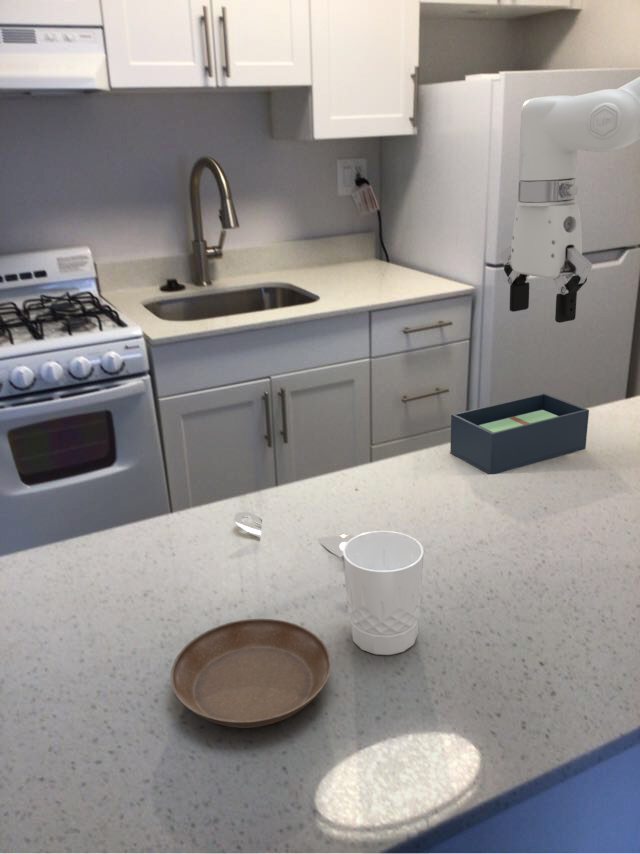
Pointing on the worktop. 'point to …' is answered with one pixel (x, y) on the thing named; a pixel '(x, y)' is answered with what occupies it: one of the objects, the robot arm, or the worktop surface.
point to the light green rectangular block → (517, 421)
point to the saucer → (251, 672)
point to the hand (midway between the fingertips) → (541, 315)
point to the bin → (518, 433)
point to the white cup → (383, 590)
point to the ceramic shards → (330, 542)
